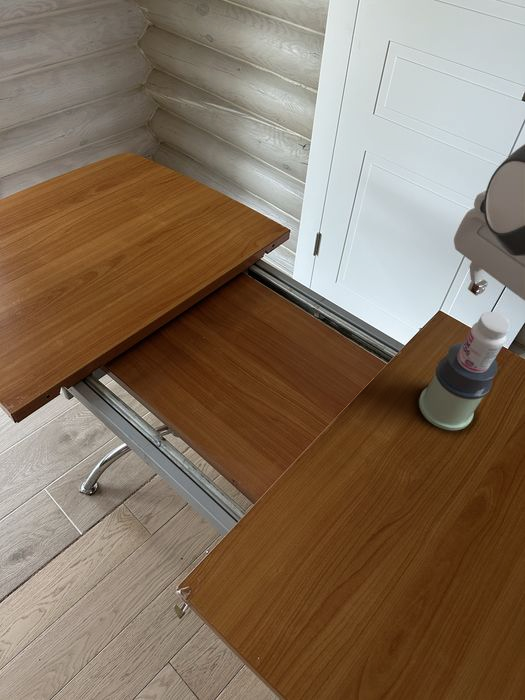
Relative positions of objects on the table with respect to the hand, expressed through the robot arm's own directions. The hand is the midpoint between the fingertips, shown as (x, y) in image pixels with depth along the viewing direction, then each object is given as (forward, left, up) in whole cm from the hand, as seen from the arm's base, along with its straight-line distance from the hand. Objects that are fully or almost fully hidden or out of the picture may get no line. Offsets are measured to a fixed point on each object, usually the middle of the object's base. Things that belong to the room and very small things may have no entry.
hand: (501, 312), depth 69 cm
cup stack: (0, 0, -22) cm, 22 cm away
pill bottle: (0, 0, -10) cm, 10 cm away
